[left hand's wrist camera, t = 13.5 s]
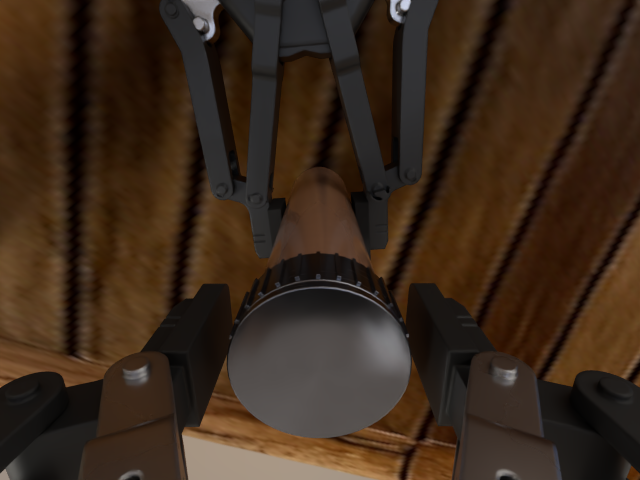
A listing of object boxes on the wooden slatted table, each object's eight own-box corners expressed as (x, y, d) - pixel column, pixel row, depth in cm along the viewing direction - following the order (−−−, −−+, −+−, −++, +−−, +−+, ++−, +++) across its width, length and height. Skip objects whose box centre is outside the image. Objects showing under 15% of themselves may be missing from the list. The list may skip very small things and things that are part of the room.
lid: (242, 382, 12) (227, 438, 10) (238, 246, 10) (218, 279, 8) (388, 387, 12) (402, 443, 10) (406, 252, 10) (428, 287, 8)
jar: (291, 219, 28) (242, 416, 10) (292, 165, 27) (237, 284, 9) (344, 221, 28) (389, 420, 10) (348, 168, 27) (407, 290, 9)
